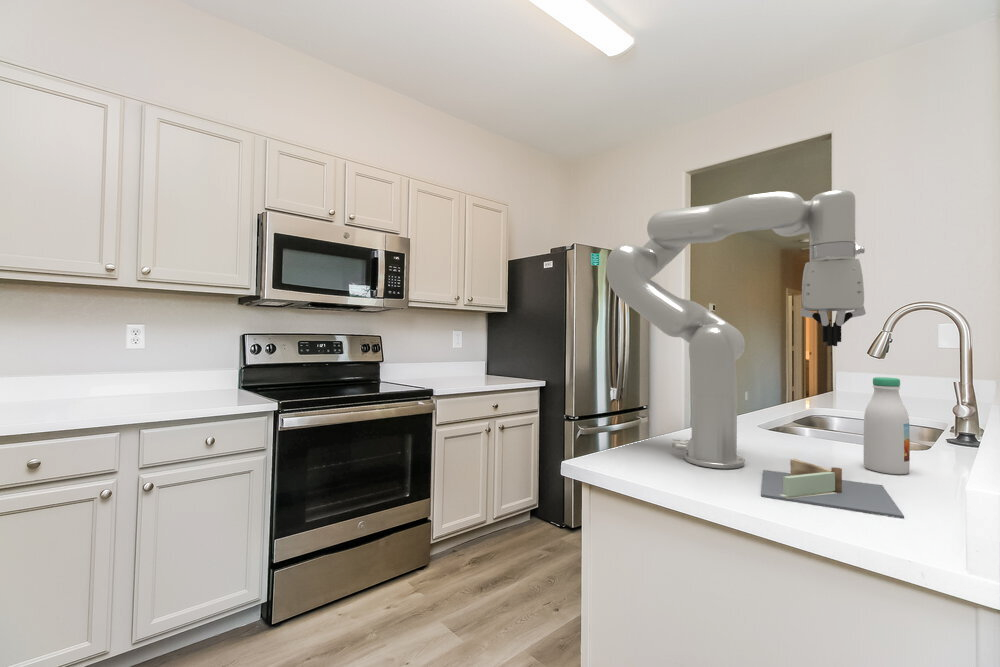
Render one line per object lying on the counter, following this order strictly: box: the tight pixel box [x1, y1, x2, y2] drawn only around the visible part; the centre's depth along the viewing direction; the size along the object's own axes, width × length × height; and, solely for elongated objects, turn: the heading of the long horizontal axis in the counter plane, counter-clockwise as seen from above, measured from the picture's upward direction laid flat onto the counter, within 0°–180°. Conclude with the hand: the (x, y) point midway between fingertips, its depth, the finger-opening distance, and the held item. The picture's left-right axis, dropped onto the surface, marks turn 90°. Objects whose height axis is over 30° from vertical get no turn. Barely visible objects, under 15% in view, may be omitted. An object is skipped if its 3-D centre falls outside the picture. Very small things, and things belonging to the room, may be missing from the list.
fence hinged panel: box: [783, 472, 835, 496], centre depth 85 cm, size 11×1×3 cm, turn 107°
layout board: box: [760, 469, 905, 519], centre depth 88 cm, size 20×18×1 cm
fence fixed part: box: [790, 458, 843, 493], centre depth 92 cm, size 10×2×5 cm, turn 15°
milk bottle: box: [863, 376, 911, 475], centre depth 103 cm, size 8×8×20 cm
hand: (831, 345), depth 95 cm, fingers closed
